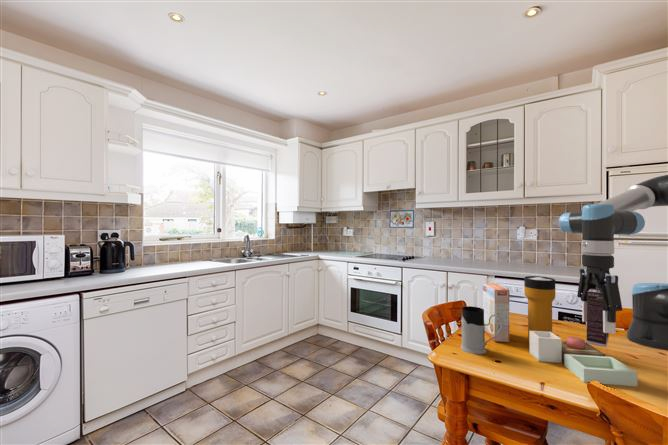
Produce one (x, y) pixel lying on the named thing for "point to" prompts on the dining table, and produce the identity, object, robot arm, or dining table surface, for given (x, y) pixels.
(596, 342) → the supplement box
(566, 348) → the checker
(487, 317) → the cracker box
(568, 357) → the trough
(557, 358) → the open box
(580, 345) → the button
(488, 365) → the dining table surface
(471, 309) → the glass holder
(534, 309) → the flashlight
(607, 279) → the robot arm
